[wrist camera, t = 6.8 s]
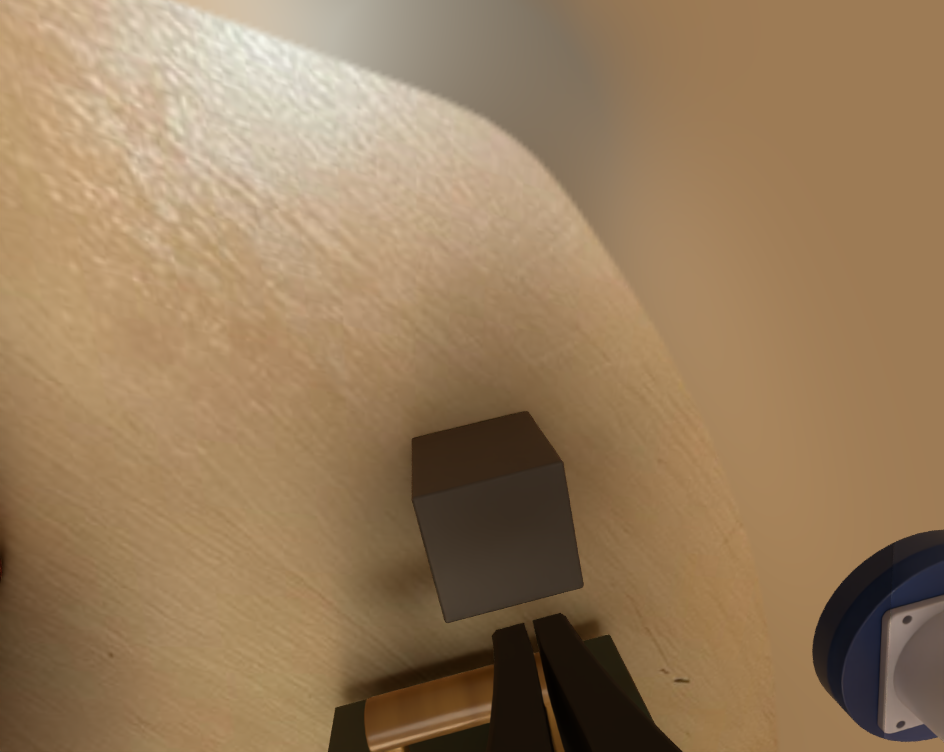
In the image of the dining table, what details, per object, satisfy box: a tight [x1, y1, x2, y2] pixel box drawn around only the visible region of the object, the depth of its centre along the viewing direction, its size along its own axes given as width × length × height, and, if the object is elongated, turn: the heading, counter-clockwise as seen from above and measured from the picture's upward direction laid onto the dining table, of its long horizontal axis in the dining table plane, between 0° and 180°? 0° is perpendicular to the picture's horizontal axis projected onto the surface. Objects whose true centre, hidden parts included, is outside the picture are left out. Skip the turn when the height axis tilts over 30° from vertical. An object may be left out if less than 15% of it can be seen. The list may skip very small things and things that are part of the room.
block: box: [412, 411, 584, 623], centre depth 16 cm, size 4×4×4 cm
